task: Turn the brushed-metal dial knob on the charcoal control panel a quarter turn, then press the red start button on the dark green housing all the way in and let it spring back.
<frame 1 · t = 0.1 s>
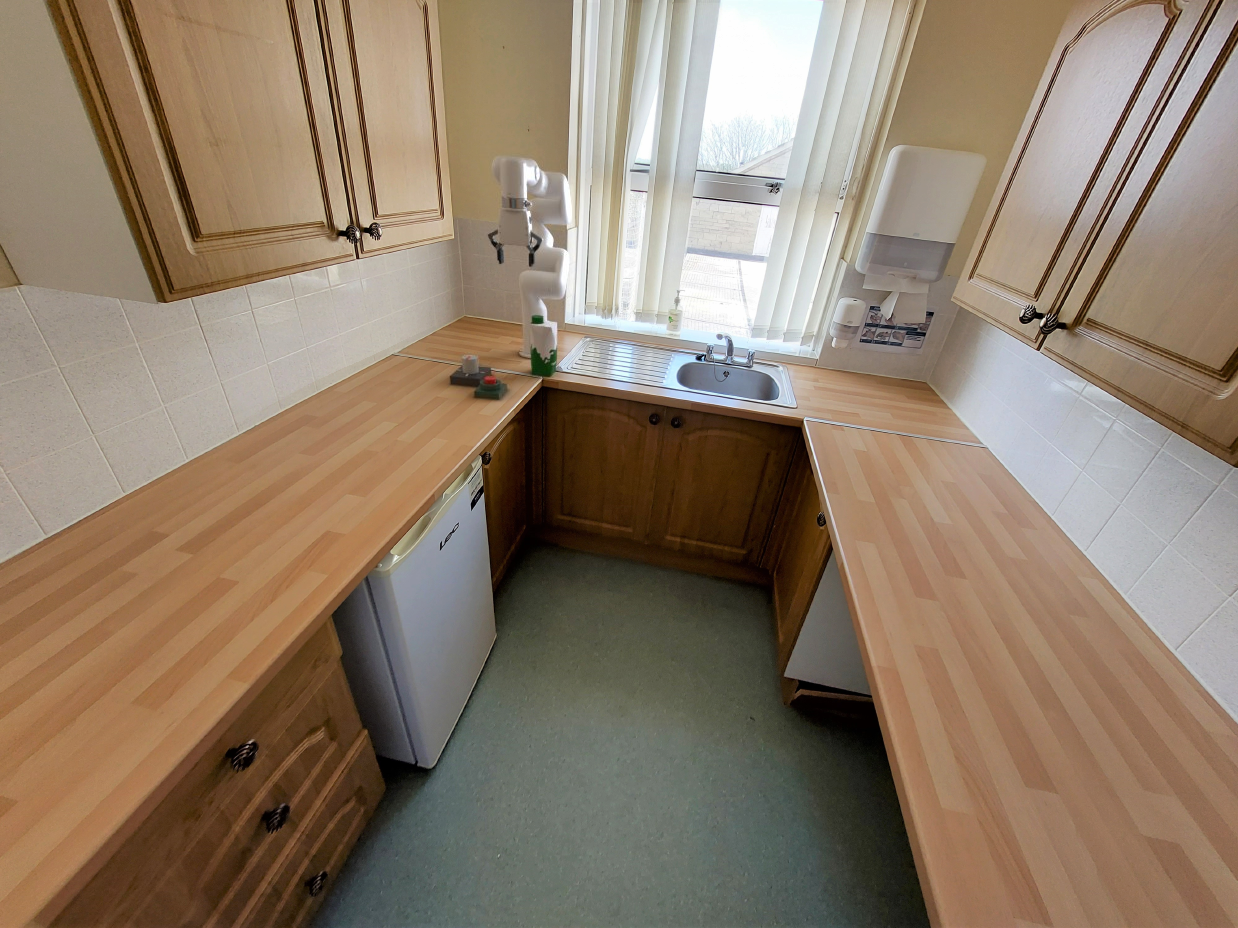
hand: (516, 265, 155), 37 cm above the worktop, tool pointing down, fingers open, 9 cm apart
start button: (490, 380, 154), point 4 cm above the worktop, slide at 0.1 cm
dial panel: (471, 379, 165), on the worktop
button box: (491, 393, 156), on the worktop
milk carton: (544, 373, 177), on the worktop
dial knob: (470, 363, 162), point 6 cm above the worktop, hinge at 0.0°
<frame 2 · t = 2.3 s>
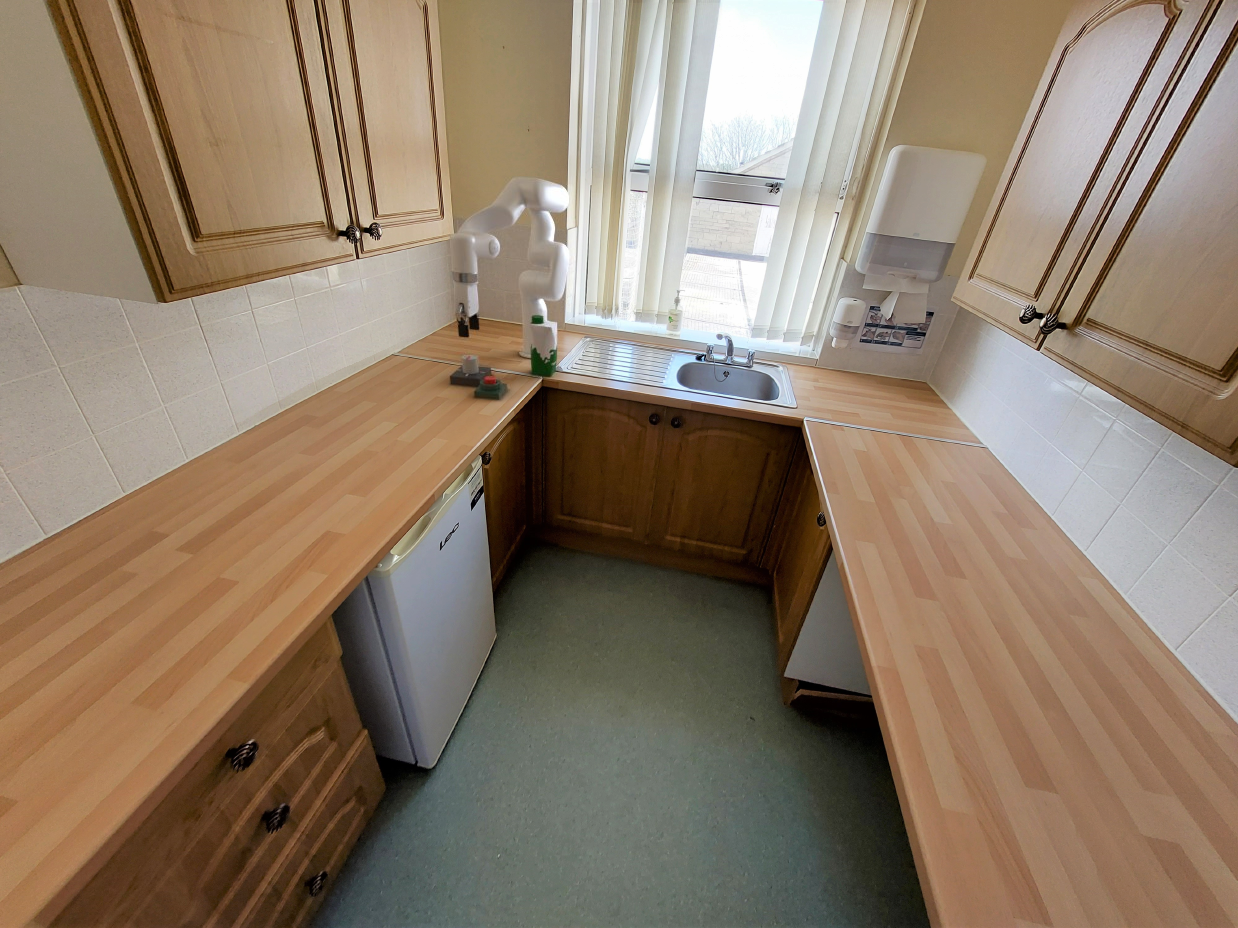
hand: (469, 333, 157), 16 cm above the worktop, tool pointing down, fingers open, 9 cm apart
nothing on the worktop moved.
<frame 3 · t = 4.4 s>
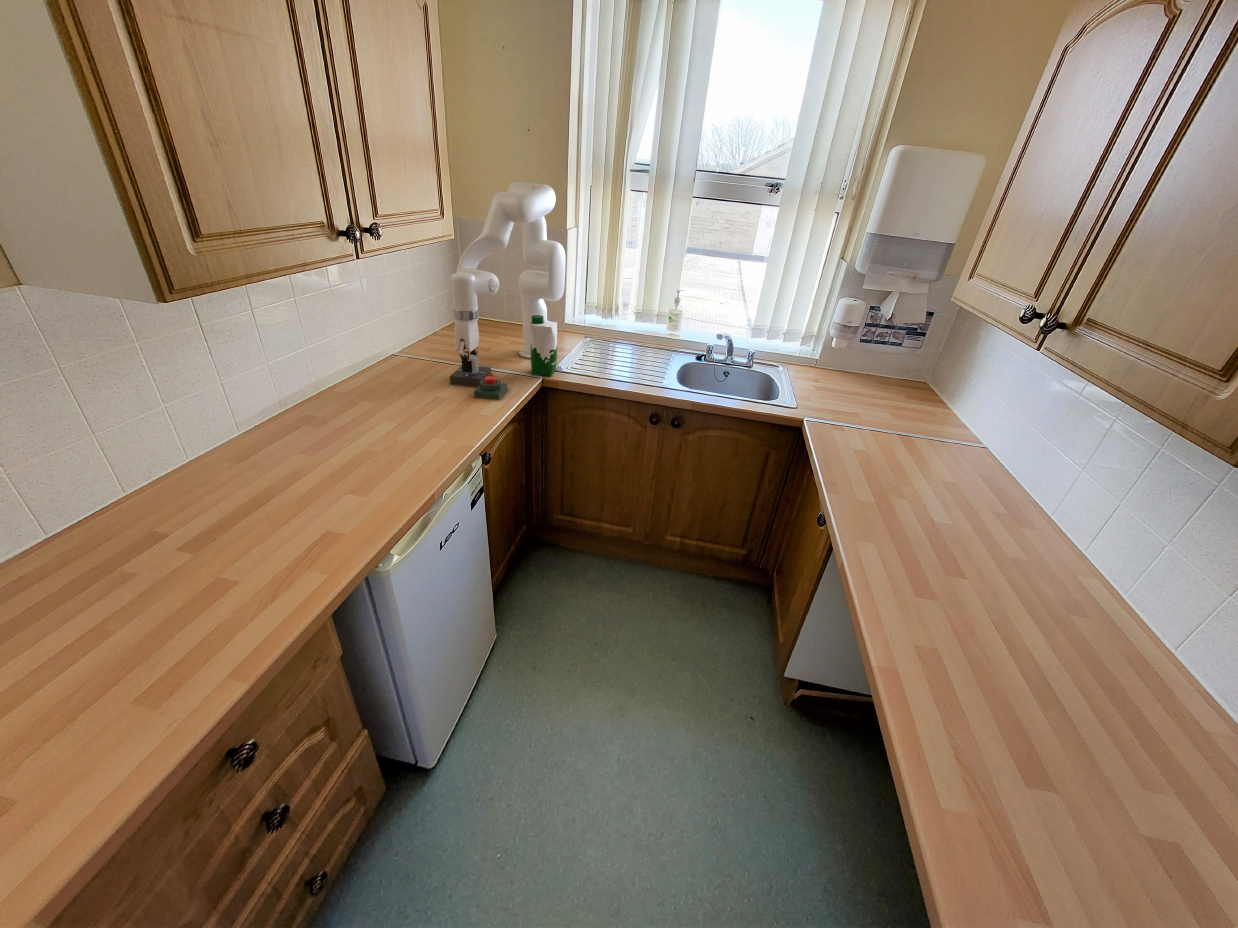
hand: (470, 368, 163), 4 cm above the worktop, tool pointing down, fingers closed on dial knob, 5 cm apart
dial knob: (470, 363, 162), point 6 cm above the worktop, hinge at 0.1°, touching gripper
everything else where it was.
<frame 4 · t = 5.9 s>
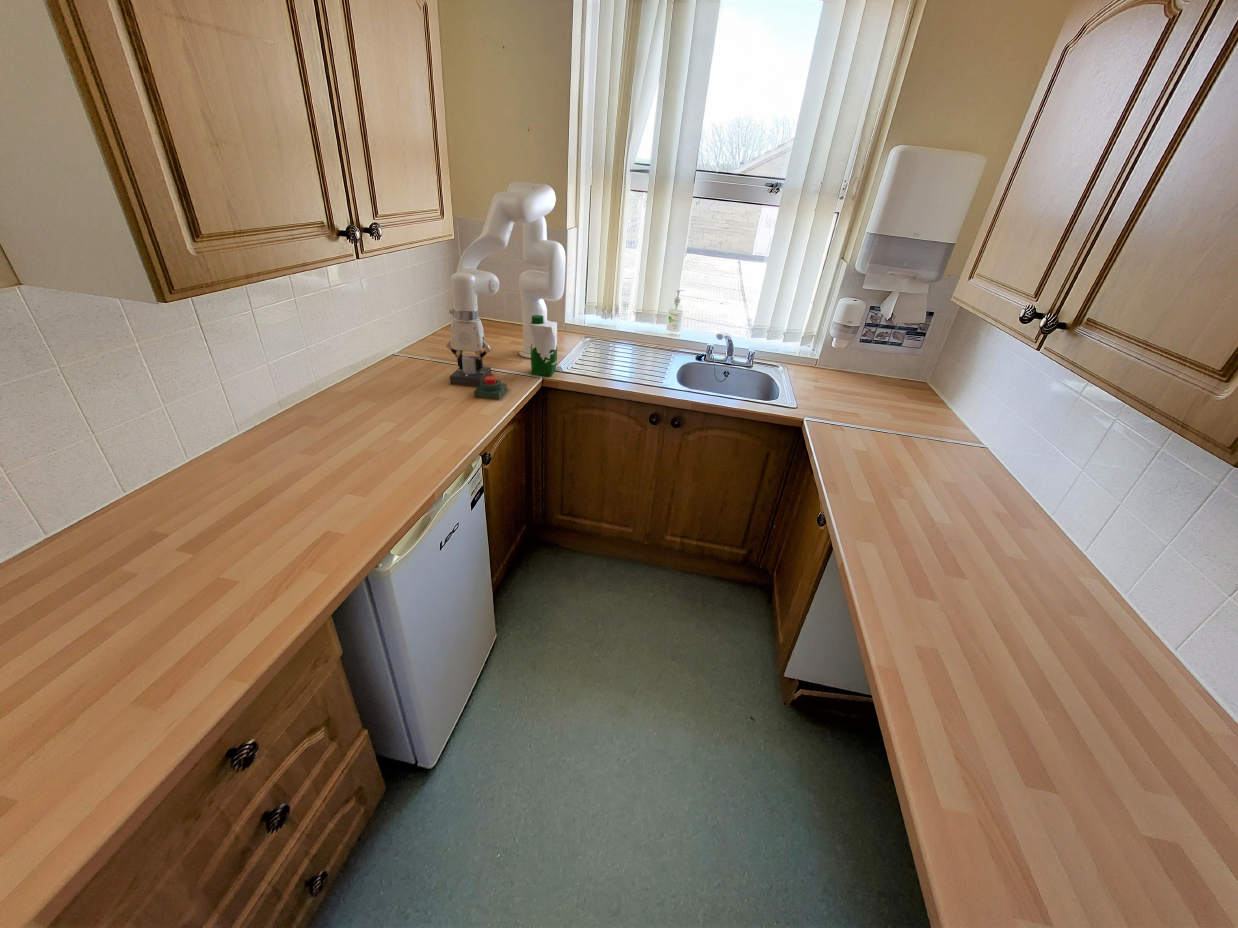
hand: (470, 368, 163), 4 cm above the worktop, tool pointing down, fingers closed on dial knob, 5 cm apart
dial knob: (470, 363, 162), point 6 cm above the worktop, hinge at 90.8°, touching gripper
everything else where it was.
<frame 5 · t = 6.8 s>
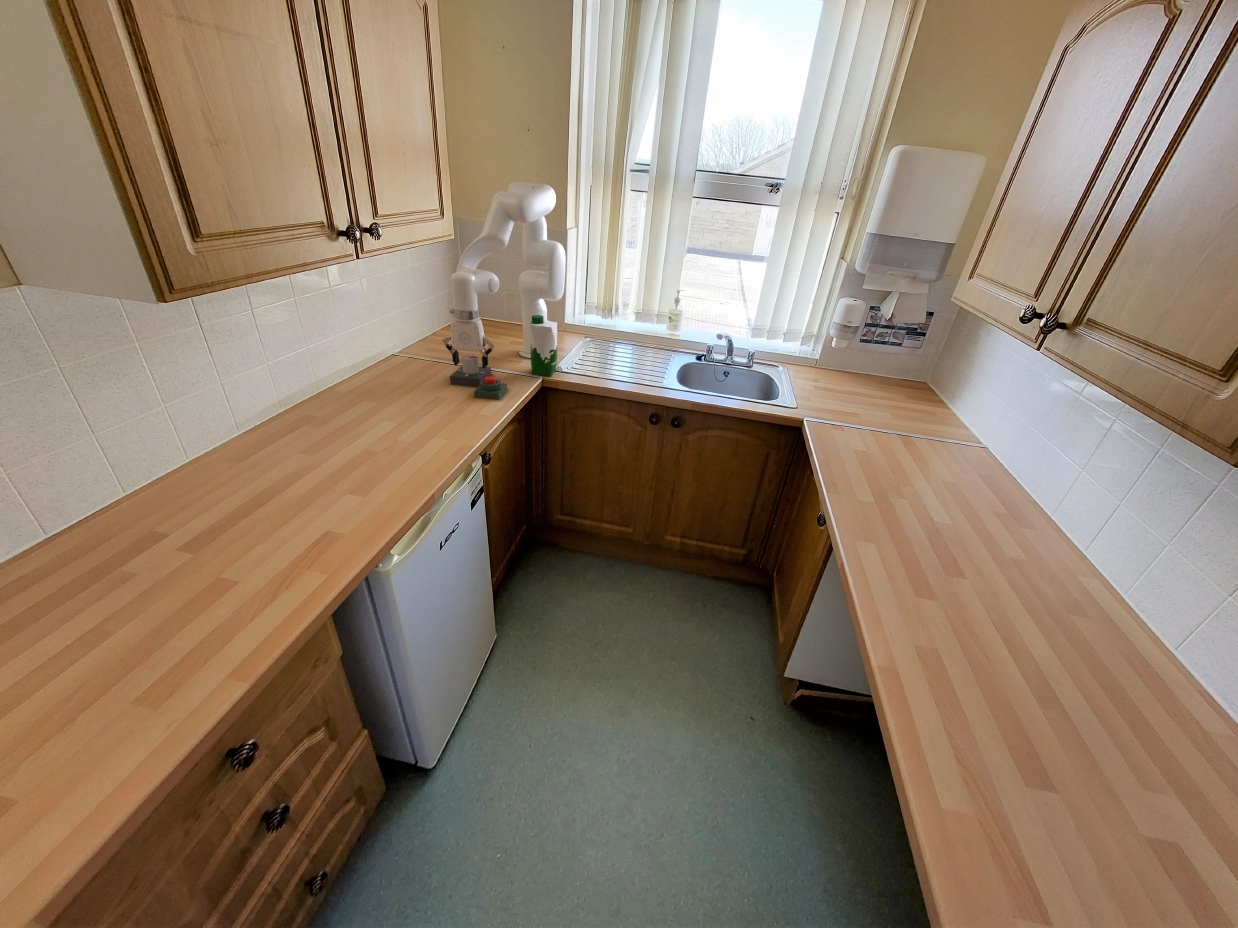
hand: (470, 365, 163), 5 cm above the worktop, tool pointing down, fingers open, 9 cm apart
dial knob: (470, 363, 162), point 6 cm above the worktop, hinge at 90.1°
everything else where it was.
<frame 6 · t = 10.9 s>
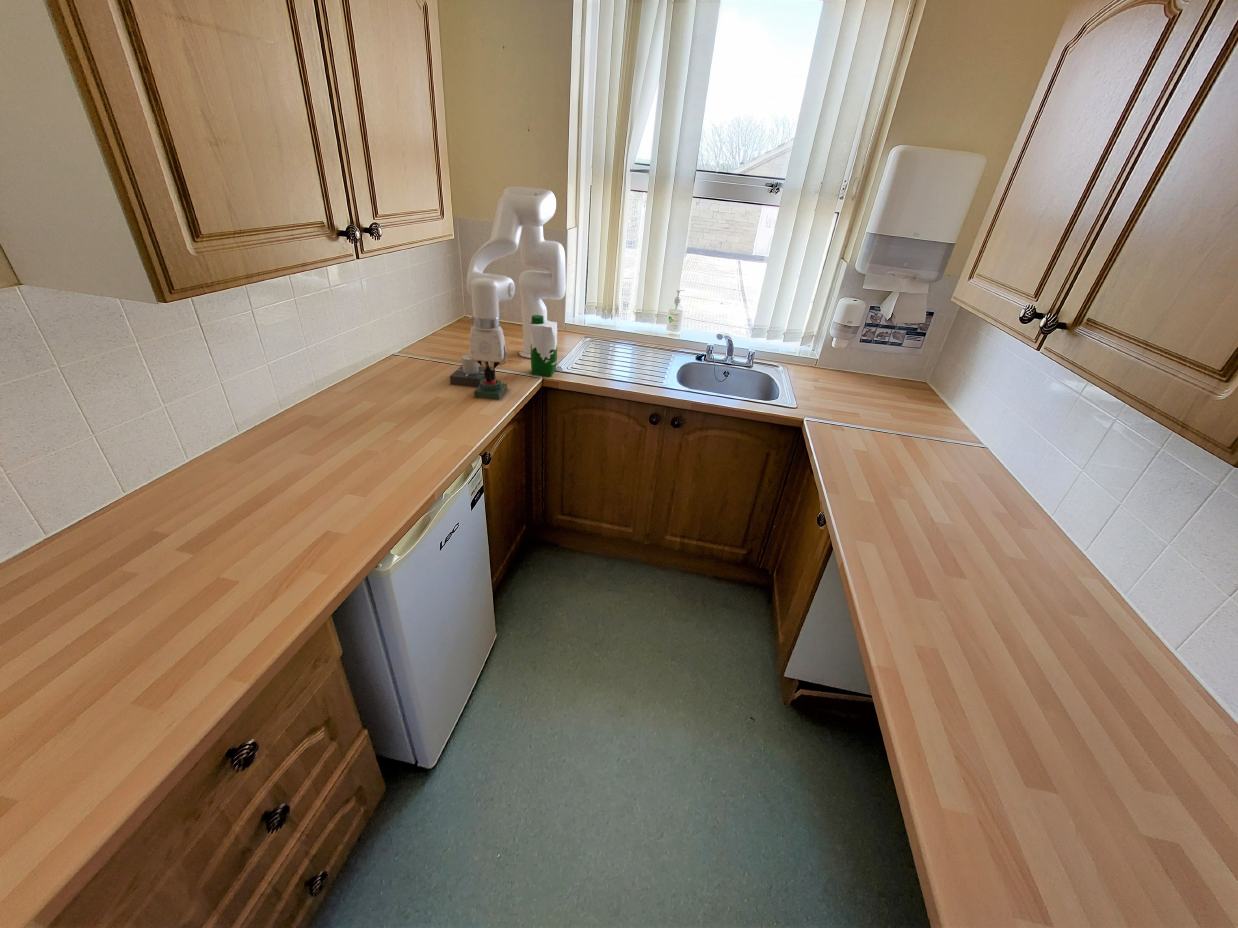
hand: (490, 380, 154), 5 cm above the worktop, tool pointing down, fingers closed
start button: (490, 383, 154), point 4 cm above the worktop, slide at -0.8 cm, touching gripper
everything else where it was.
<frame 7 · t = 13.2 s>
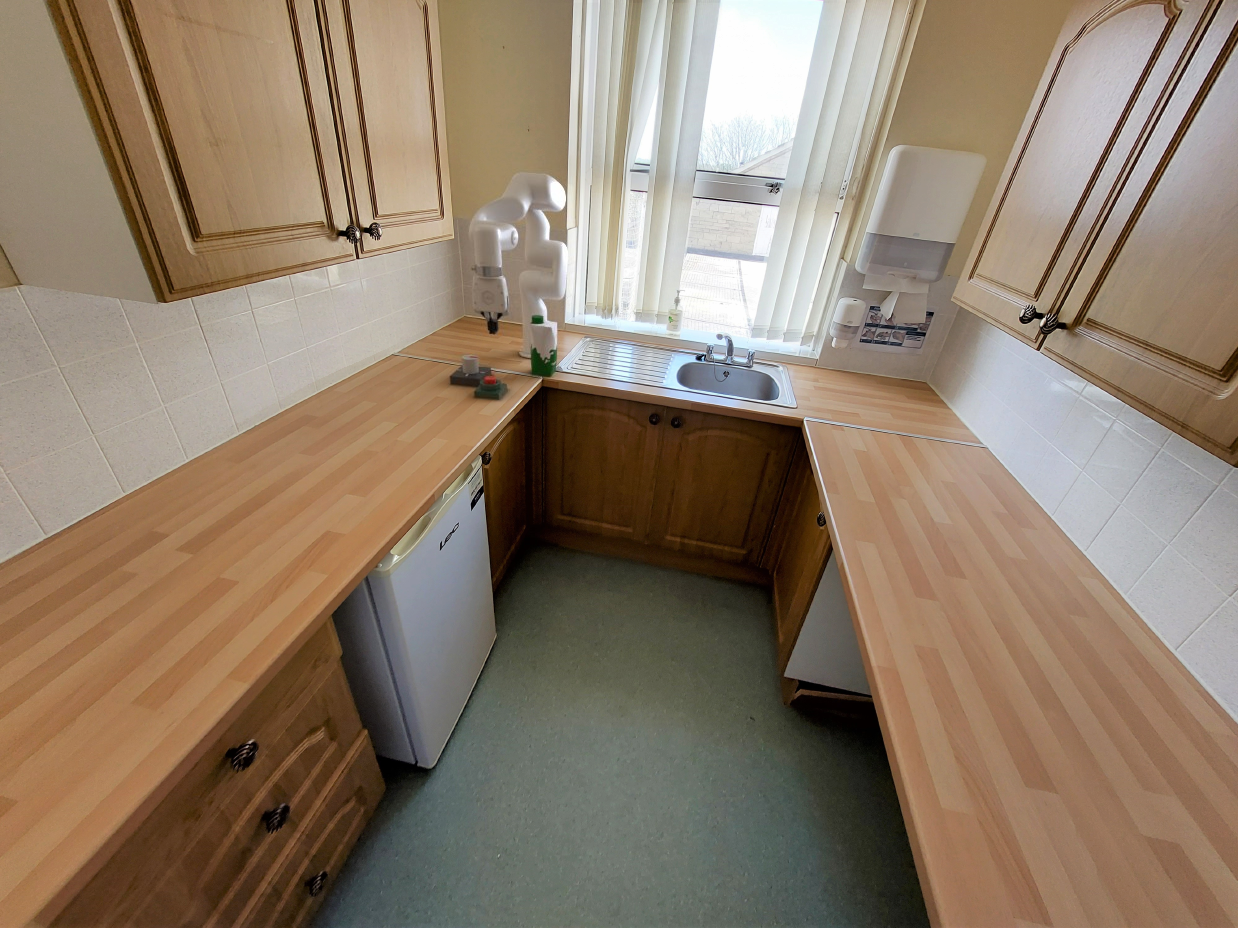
hand: (493, 333, 152), 18 cm above the worktop, tool pointing down, fingers closed
start button: (490, 380, 154), point 4 cm above the worktop, slide at 0.1 cm
everything else where it was.
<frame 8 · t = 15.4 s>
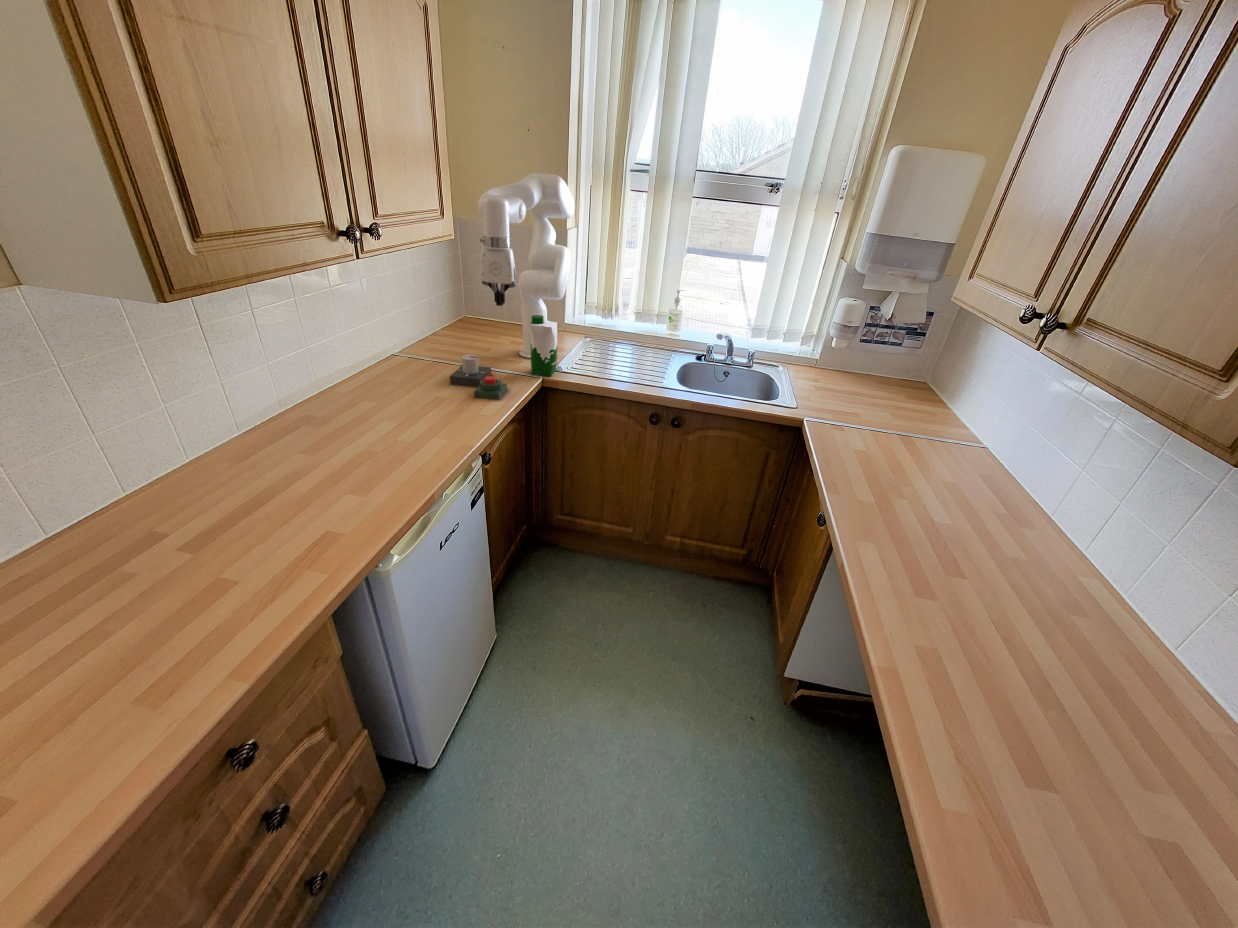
hand: (500, 305, 156), 25 cm above the worktop, tool pointing down, fingers closed
nothing on the worktop moved.
at the end: dial knob at +90° (first picture: +0°); start button pushed in 1.1 cm at the most during the clip, back to where it started at the end; start button slide at 0.1 cm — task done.
